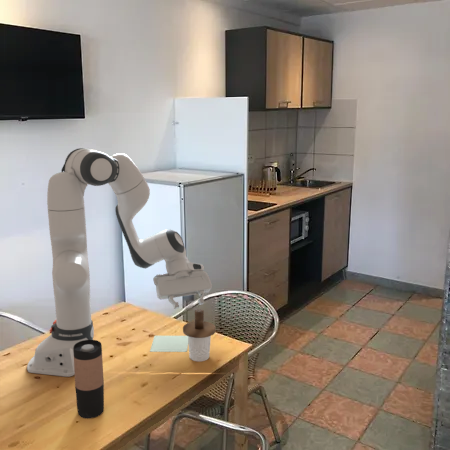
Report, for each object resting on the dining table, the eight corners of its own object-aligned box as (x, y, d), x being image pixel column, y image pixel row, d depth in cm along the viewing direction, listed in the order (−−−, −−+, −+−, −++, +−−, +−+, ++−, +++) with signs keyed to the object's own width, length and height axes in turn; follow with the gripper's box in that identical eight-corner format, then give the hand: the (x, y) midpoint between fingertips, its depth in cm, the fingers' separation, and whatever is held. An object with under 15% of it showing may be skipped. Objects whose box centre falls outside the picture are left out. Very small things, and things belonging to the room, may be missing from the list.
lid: (182, 338, 164) (182, 317, 163) (183, 324, 175) (183, 305, 173) (215, 337, 165) (215, 317, 163) (215, 324, 175) (215, 304, 174)
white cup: (207, 364, 167) (207, 336, 165) (185, 362, 169) (184, 334, 167) (213, 353, 175) (213, 327, 173) (191, 351, 176) (191, 325, 174)
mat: (149, 352, 175) (149, 351, 175) (154, 336, 188) (154, 335, 188) (186, 353, 175) (186, 351, 175) (189, 337, 188) (189, 335, 188)
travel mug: (83, 402, 145) (80, 338, 140) (109, 404, 144) (106, 340, 139) (72, 418, 137) (67, 350, 133) (98, 420, 136) (95, 352, 132)
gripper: (153, 271, 176) (163, 306, 170) (207, 264, 185) (218, 297, 178) (150, 279, 181) (159, 314, 175) (202, 272, 190) (212, 305, 183)
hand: (189, 306), depth 177 cm, fingers open, 8 cm apart
